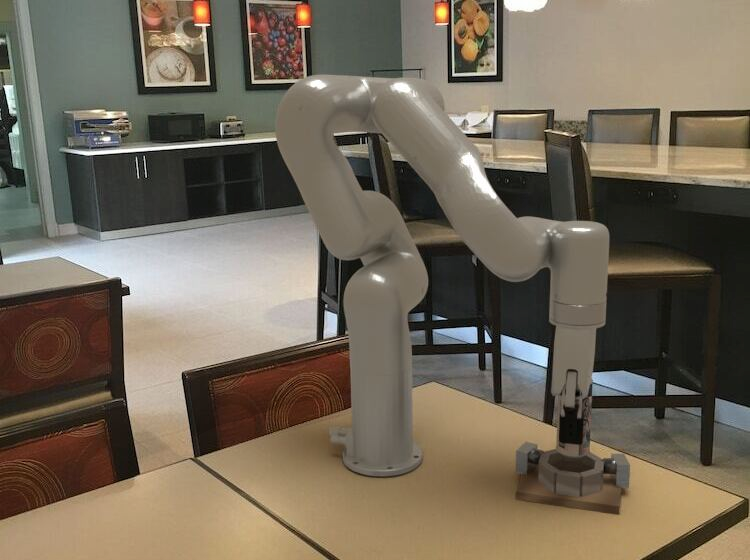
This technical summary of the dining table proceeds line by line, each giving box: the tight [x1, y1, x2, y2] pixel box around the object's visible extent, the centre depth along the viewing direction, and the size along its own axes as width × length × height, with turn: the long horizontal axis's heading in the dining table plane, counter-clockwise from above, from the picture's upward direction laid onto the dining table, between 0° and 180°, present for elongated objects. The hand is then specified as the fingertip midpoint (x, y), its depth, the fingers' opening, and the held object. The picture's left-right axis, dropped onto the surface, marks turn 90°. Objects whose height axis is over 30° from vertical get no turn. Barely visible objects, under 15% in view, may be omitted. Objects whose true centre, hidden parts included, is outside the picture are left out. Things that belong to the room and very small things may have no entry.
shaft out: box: [602, 453, 631, 489], centre depth 114 cm, size 3×4×4 cm
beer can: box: [555, 373, 594, 458], centre depth 112 cm, size 5×5×12 cm
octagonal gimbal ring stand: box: [515, 448, 622, 515], centre depth 114 cm, size 14×11×4 cm
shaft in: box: [515, 441, 545, 475], centre depth 117 cm, size 3×4×4 cm
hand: (572, 433), depth 113 cm, fingers closed on beer can, 4 cm apart
